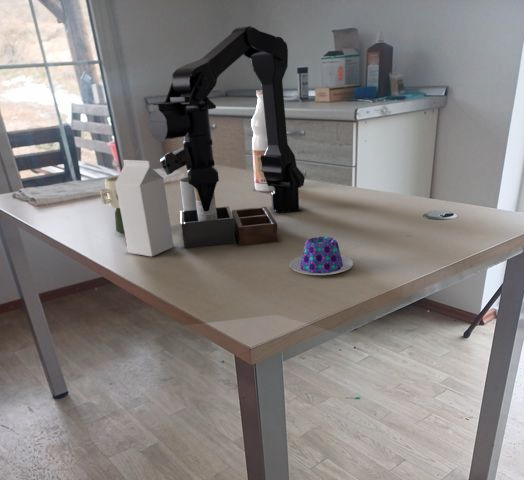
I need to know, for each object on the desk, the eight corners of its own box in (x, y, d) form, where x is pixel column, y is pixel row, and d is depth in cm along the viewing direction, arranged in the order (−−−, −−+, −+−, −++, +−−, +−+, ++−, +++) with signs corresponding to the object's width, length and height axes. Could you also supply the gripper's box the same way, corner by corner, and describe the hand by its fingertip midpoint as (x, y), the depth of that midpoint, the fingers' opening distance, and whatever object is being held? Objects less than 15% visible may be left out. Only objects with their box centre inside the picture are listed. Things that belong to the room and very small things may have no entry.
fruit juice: (249, 188, 166) (242, 90, 152) (275, 184, 169) (270, 88, 156) (264, 193, 158) (258, 91, 145) (290, 188, 162) (287, 88, 148)
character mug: (116, 240, 124) (104, 184, 118) (103, 234, 129) (91, 180, 122) (156, 229, 130) (147, 176, 123) (142, 225, 135) (133, 172, 128)
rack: (267, 222, 129) (266, 206, 127) (278, 241, 115) (277, 223, 113) (233, 226, 128) (231, 210, 126) (240, 245, 114) (238, 227, 112)
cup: (211, 222, 133) (206, 182, 128) (180, 222, 134) (175, 182, 130) (220, 213, 140) (216, 175, 135) (191, 214, 142) (186, 176, 137)
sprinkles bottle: (218, 231, 123) (211, 172, 116) (220, 236, 119) (213, 176, 112) (198, 234, 122) (190, 174, 116) (201, 239, 118) (192, 178, 112)
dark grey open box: (230, 229, 126) (228, 206, 124) (235, 242, 116) (233, 218, 114) (183, 233, 125) (180, 210, 122) (184, 248, 115) (181, 223, 112)
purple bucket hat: (329, 283, 92) (329, 255, 89) (277, 271, 99) (275, 244, 96) (365, 263, 99) (366, 236, 97) (314, 253, 107) (313, 228, 104)
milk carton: (152, 257, 111) (136, 164, 102) (128, 253, 114) (110, 162, 105) (174, 247, 116) (160, 157, 107) (150, 244, 119) (135, 157, 110)
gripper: (160, 132, 117) (170, 202, 125) (157, 143, 101) (169, 222, 109) (209, 128, 118) (216, 198, 126) (214, 138, 102) (222, 217, 110)
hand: (205, 208), depth 118 cm, fingers closed on sprinkles bottle, 4 cm apart
